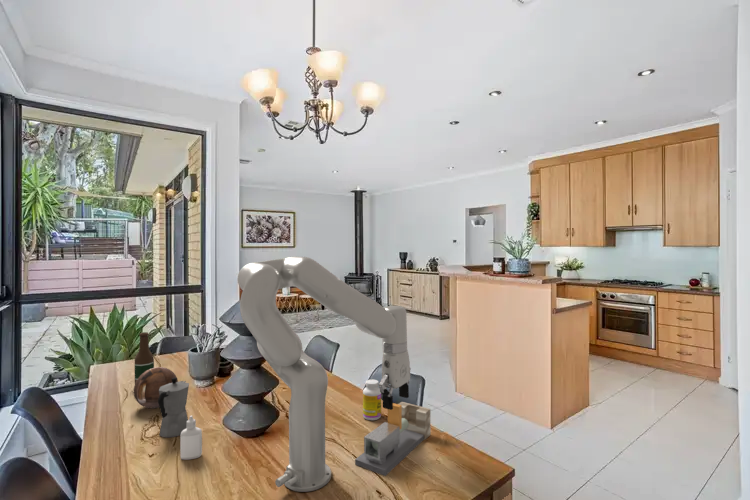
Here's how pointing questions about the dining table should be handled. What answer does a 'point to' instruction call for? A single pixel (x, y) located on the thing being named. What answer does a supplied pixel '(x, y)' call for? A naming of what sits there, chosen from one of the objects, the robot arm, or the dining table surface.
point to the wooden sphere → (152, 386)
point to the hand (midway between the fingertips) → (396, 402)
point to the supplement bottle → (371, 400)
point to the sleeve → (382, 442)
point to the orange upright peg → (395, 420)
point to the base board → (392, 459)
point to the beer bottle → (143, 357)
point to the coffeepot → (173, 408)
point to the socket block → (417, 418)
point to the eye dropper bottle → (191, 441)
